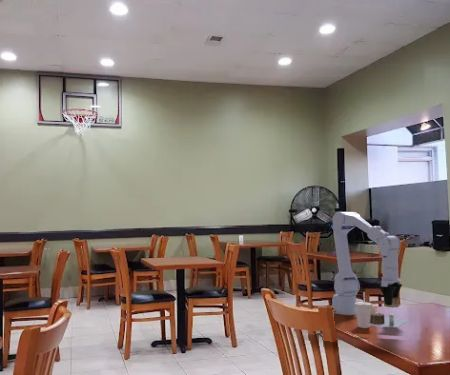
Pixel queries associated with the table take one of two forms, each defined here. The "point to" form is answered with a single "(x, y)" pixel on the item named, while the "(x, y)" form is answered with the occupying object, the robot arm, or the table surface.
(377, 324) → the gear board
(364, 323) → the smoothie
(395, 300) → the beech gear
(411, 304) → the table surface
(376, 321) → the walnut gear
